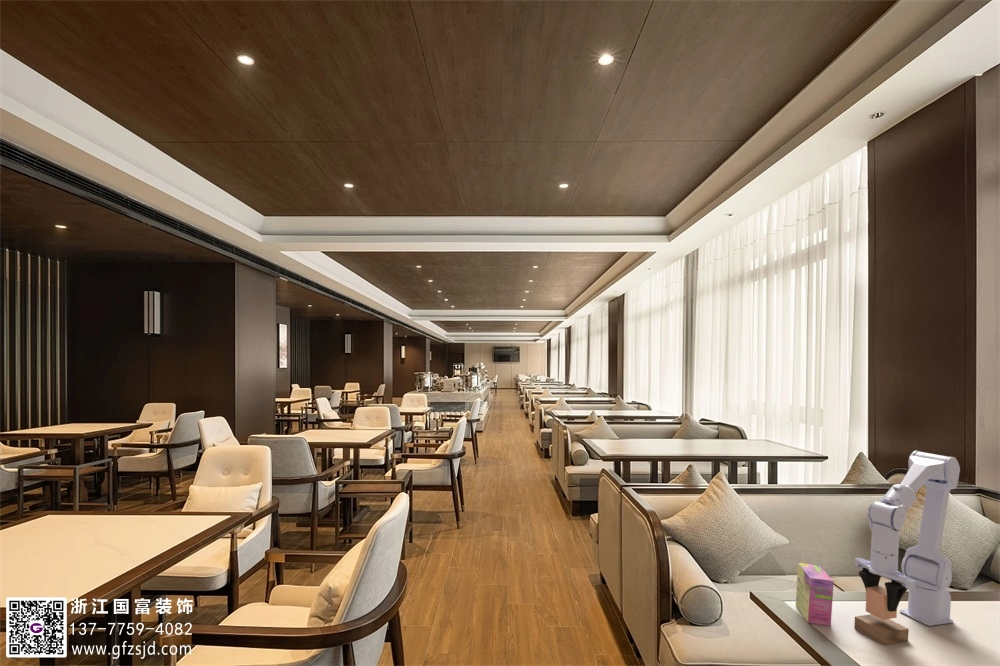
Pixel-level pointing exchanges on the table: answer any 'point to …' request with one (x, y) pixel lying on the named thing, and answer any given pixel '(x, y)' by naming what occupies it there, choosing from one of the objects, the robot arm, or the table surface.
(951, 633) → the table surface
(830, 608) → the box
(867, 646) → the table surface
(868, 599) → the peach cube
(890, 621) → the walnut slab
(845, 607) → the table surface
